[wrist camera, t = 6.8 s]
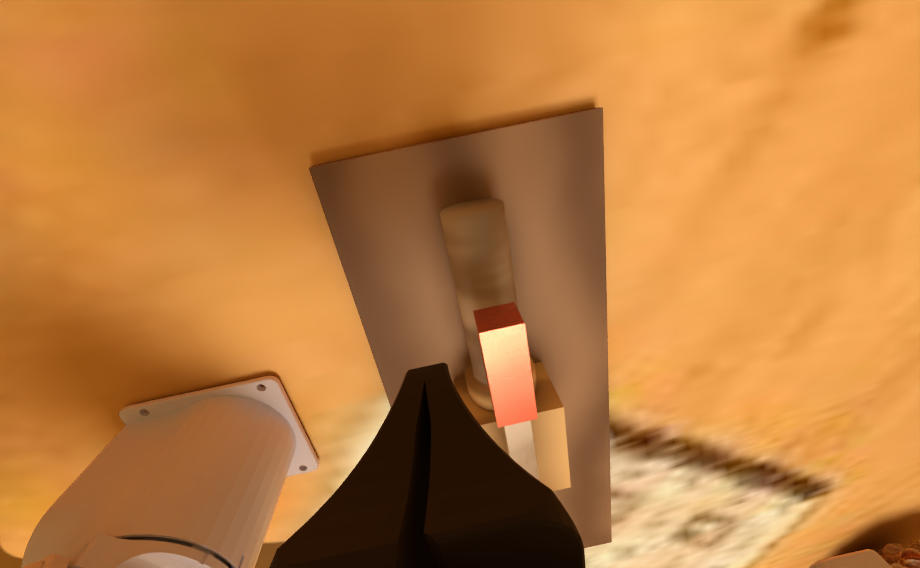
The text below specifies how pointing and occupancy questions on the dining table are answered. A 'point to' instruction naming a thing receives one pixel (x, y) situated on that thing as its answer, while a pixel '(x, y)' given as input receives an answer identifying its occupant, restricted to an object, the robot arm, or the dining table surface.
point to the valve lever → (509, 379)
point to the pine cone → (901, 555)
